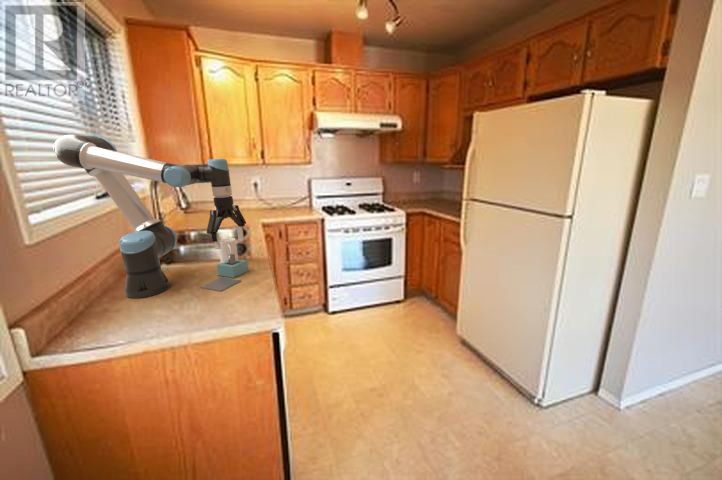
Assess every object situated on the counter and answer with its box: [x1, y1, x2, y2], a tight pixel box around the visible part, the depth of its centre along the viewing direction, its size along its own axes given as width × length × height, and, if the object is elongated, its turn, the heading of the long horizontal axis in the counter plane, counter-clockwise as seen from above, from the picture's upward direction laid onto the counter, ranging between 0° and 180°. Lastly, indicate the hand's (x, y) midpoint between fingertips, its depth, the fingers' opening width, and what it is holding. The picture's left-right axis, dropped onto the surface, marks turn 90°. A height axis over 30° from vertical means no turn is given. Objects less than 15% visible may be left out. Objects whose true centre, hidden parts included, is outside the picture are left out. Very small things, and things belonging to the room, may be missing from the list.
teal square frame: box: [216, 258, 249, 279], centre depth 145 cm, size 9×9×5 cm
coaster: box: [200, 276, 242, 293], centre depth 133 cm, size 11×11×1 cm
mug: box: [218, 237, 239, 263], centre depth 158 cm, size 12×8×12 cm
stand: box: [216, 254, 250, 279], centre depth 145 cm, size 10×10×9 cm
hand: (230, 244), depth 142 cm, fingers open, 13 cm apart
